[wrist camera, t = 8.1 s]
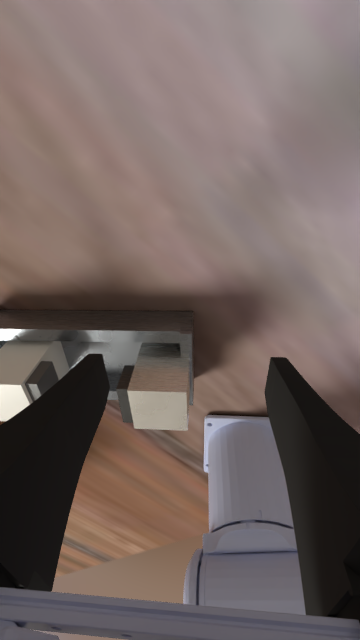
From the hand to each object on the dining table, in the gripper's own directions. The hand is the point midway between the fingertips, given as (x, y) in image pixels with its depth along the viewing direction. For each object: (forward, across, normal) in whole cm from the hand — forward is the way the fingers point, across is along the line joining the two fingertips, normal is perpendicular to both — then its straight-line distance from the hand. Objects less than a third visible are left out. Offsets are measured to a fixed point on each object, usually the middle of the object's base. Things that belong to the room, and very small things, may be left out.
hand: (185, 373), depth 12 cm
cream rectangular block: (+8, +12, +6) cm, 16 cm away
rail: (+9, +8, +6) cm, 14 cm away
